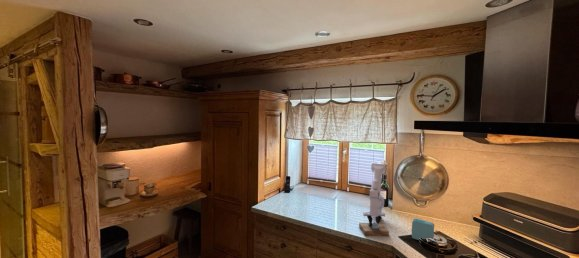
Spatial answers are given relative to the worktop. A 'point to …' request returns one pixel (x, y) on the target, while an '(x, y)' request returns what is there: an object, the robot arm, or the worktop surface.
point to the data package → (422, 229)
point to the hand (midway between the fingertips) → (373, 226)
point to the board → (371, 232)
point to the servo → (374, 225)
